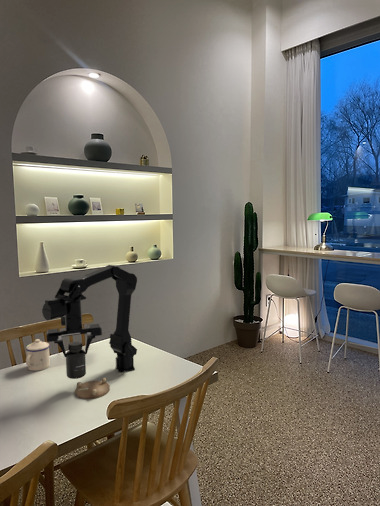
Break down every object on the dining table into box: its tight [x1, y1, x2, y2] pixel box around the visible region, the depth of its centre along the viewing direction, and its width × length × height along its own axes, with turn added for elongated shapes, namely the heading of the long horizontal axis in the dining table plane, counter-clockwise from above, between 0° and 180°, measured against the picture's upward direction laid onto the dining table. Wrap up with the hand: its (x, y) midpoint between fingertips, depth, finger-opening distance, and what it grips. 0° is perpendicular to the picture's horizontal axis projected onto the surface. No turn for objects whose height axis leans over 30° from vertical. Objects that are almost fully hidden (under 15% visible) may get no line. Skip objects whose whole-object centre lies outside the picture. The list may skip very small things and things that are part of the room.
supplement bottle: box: [65, 341, 87, 380], centre depth 142 cm, size 7×7×12 cm
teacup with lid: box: [25, 338, 51, 372], centre depth 161 cm, size 12×9×12 cm
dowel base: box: [74, 377, 111, 400], centre depth 141 cm, size 12×12×3 cm
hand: (75, 355), depth 142 cm, fingers closed on supplement bottle, 7 cm apart
